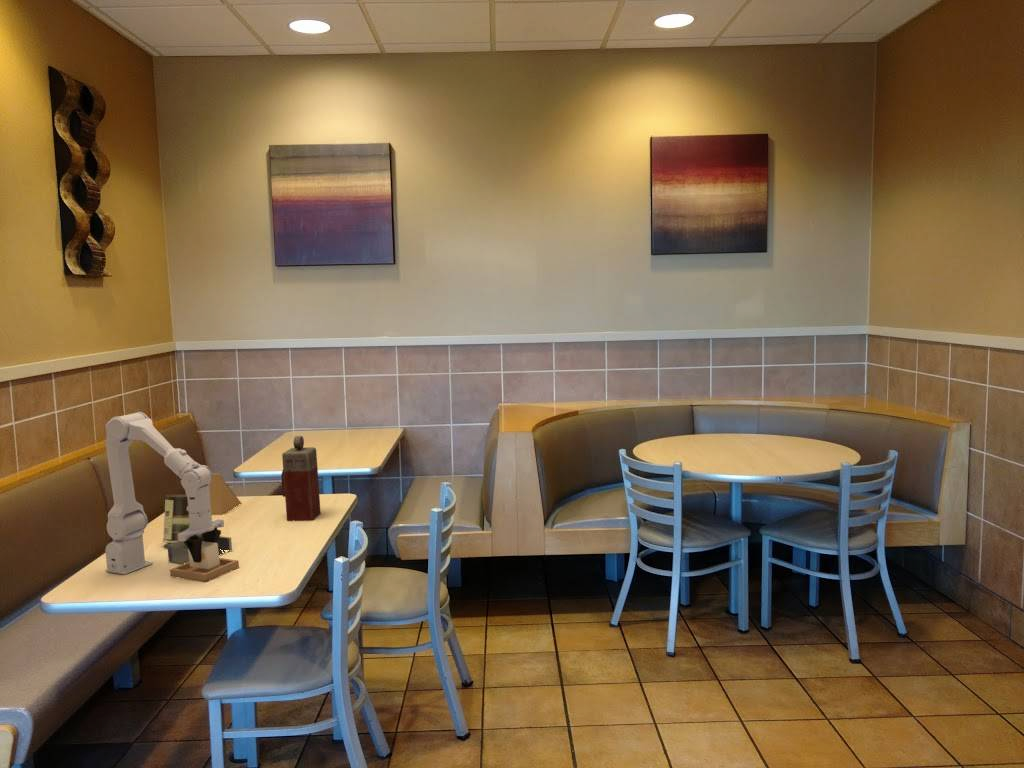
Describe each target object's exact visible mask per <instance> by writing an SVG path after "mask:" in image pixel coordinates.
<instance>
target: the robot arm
mask: <svg viewBox="0 0 1024 768" xmlns="http://www.w3.org/2000/svg"><path fill="white" fill-rule="evenodd" d="M105 433H106V437H105V451H106V457H107V458H106V459H107V463H108V465H107V466H108V471H109V476H110V484H111V485H110V486H111V491H112V499H113V506H112V507H111V509H110V510H109V512H108V513H107V523H106V531H107V533H108V536H109V537H110V538H111V539H112V541H111V542H109V543H107V545H106V546H105V550H104V551H105V559H106V560H105V561H106V569H105V572H107V573H114V574H120V575H127V574H129V573H132V572H134V571H137V570H141V569H143V568H145V567H148V566H150V565H152V564H153V562H152V561H149V560H148V561H147V560H146V556H145V547H144V535H143V534H145V529H146V528H147V526H148V523H149V521H148V516H147V514H146V513H145V510H144V506H143V504H141V503H139V502H138V501H137V499H136V494H135V486H134V480H133V473H132V465H131V460H130V453H129V447H130V445H131V444H132V443H133V442H134V441H143V442H144V443H146V444H147V445H148V446H149V447H151V448H152V449H153V450H155V452H156V453H158V454H159V455H161V456H162V457H163V458H164V459H163V461H164V465H165V466H167V468H169V470H171V471H172V472H173V473H174V474H175V475H176V476H177V477H179V479H181V480H180V484H181V486H182V488H183V489H184V491H185V494H186V495H187V499H188V510H189V522H190V528H188V529H186V530H185V531H183V532H181V533H179V534H178V541H183V542H184V543H185V545H186V546H187V547H188V549H189V551H190V553H191V556H192V558H193V561H194V562H197V563H200V562H201V546H202V541H203V539H204V541H205V542H213V543H217V541H218V538H219V536H222V531H221V529H218V528H223V527H225V520H224V519H220V518H219V519H216V520H213V517H212V516H213V515H211V503H210V491H209V484H210V483H211V482H212V480H213V474H212V473H213V472H212V469H210V468H209V466H208V465H205V464H200V463H199V462H197V461H195V460H194V459H193V458H192V457H191V456H190V455H188V453H187V451H186V450H185V449H182V448H179V447H178V448H175V447H174V446H172V445H171V443H169V441H168V440H167V439H166V438H165V437H164V436H163V435H162V434H161V433H160V432H159V431H158V430H157V428H156V427H155V426H154V424H153V420H152V419H151V418H150V417H148V415H147V414H146V413H144V412H142V411H136V412H133V413H129V414H124V415H121V416H113V417H112V418H111V419H109V420H108V421H107V422H106V424H105ZM200 534H202V536H203V539H202V538H198V537H197V535H200Z"/></svg>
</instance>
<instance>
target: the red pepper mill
mask: <svg viewBox="0 0 1024 768" xmlns="http://www.w3.org/2000/svg"><path fill="white" fill-rule="evenodd" d="M292 441H293V447H292V448H288V449H287V450H286V451H284V452H282V454H281V460H282V471H281V475H280V476H281V477H280V478H281V487H282V488H281V490H282V497H283V498H285V512H286V515H285V516H286V521H287V522H303V521H304V522H305V521H306V522H307V521H311V522H312V521H314V520H315V519H316V518H318V516H319V515H321V514H322V513H321V501H320V500H321V499H320V489H319V488H320V485H319V472H318V471H319V467H318V457H317V448H316V447H314V446H313V447H312V446H311V447H304V445H305V439H304V437H303V436H302V435H298V436H297V435H295V436H294V437H293V440H292ZM293 520H294V521H293Z"/></svg>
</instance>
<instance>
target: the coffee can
mask: <svg viewBox="0 0 1024 768" xmlns="http://www.w3.org/2000/svg"><path fill="white" fill-rule="evenodd" d="M164 498H165V499H164V500H165V502H164V519H163V520H164V521H163V540H162V542H163V543H167V544H171V543H174V542H177V541H178V534H179V533H181V532H183V531H185V530H186V529H188V528H190V522H189V510H188V499H187V495H186V493H185V494H184V493H183V494H181V493H180V494H178V493H177V494H176V493H175V494H166V495H165V496H164Z"/></svg>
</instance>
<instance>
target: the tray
mask: <svg viewBox="0 0 1024 768" xmlns="http://www.w3.org/2000/svg"><path fill="white" fill-rule="evenodd" d="M219 561H220V564H219V565H217V566H214V567H212V568H210V569H204V568H197V567H190V562H187V563H185V564H179V565H177V566H175V567H173V568H170V569H169V575H170V576H172V577H171V578H176V577H179V578H178V579H183V578H184V579H185V580H189V579H190V581H195V580H197V582H203V583H207V582H209V580H210V581H212V580H214V579H216V578H219V577H221V576H223V575H225V574H227V573H226V572H228V571H230V572H232V571H234V570H236V569H235V568H237V567H239V568H240V565H239V560H237V559H230V558H222V557H219ZM233 569H234V570H233ZM237 569H238V568H237ZM231 570H232V571H231ZM224 573H225V574H224ZM228 573H229V572H228ZM222 574H223V575H222ZM220 575H221V576H220ZM218 576H219V577H218ZM215 577H216V578H215Z"/></svg>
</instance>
